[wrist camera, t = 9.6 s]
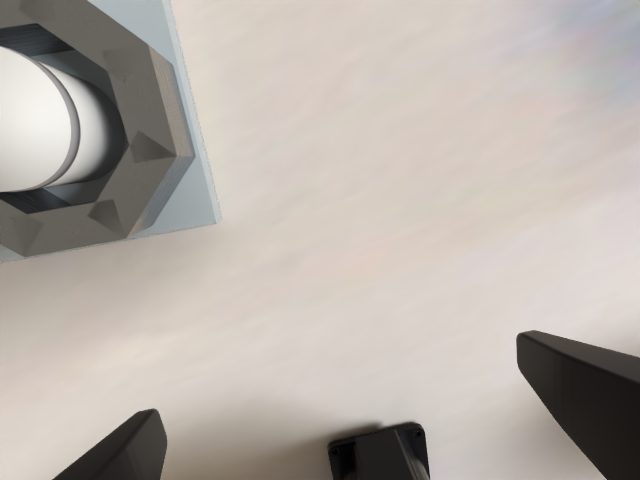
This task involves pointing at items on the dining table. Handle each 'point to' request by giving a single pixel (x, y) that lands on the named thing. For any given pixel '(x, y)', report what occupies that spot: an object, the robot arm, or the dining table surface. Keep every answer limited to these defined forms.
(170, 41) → the piston base
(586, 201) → the dining table surface
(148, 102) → the steel ring
